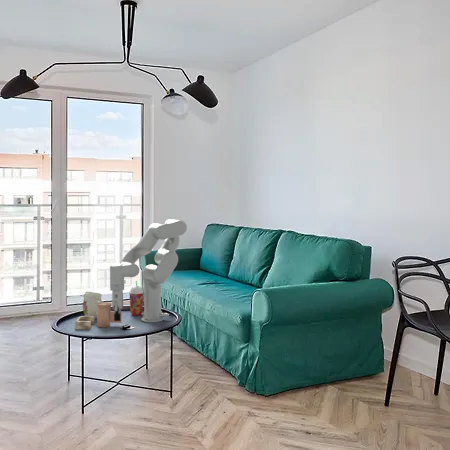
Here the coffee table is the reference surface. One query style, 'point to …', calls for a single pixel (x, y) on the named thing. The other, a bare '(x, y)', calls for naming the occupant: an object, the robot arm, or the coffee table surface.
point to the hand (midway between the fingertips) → (117, 320)
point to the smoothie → (136, 300)
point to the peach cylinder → (105, 315)
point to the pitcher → (91, 303)
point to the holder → (84, 322)
